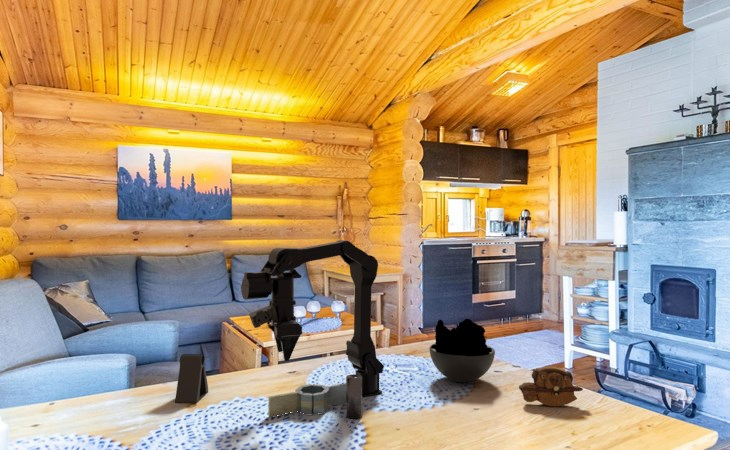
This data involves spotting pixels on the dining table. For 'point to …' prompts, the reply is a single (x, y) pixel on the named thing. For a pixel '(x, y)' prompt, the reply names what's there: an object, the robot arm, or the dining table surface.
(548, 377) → the wooden carving
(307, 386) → the hinge
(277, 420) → the dining table surface
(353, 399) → the hinge pin
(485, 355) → the coal bowl
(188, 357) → the phone stand
